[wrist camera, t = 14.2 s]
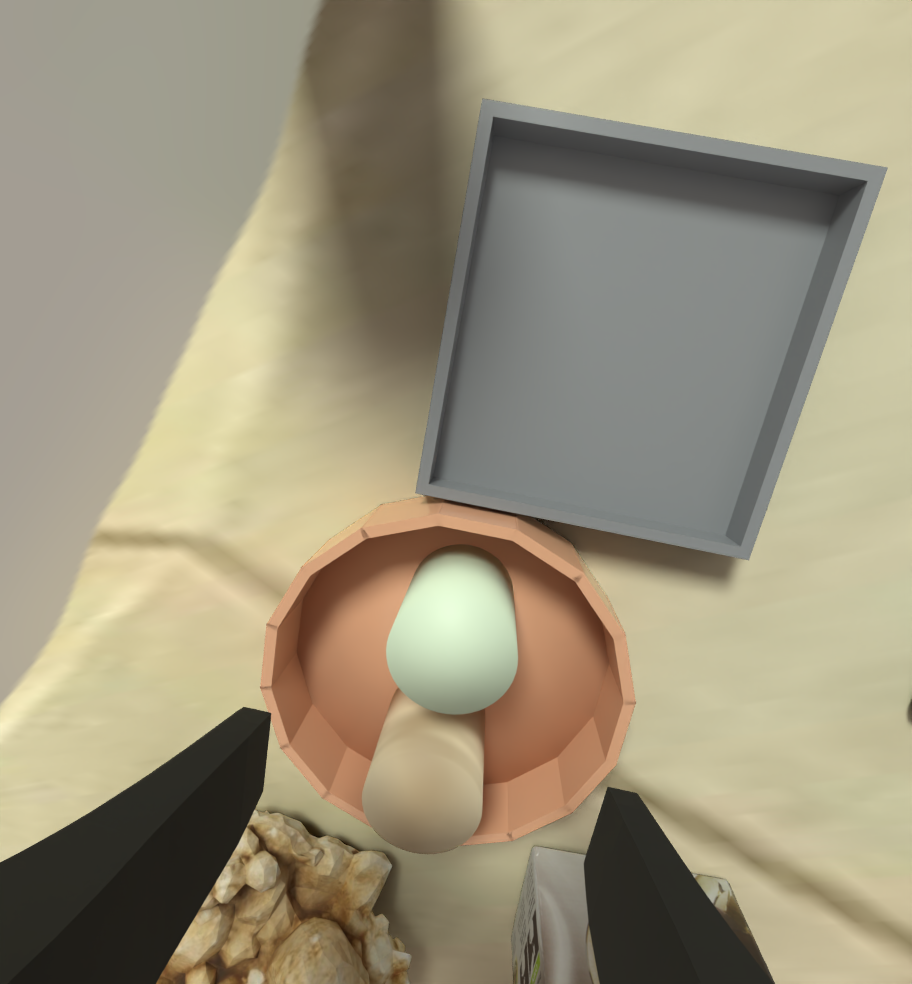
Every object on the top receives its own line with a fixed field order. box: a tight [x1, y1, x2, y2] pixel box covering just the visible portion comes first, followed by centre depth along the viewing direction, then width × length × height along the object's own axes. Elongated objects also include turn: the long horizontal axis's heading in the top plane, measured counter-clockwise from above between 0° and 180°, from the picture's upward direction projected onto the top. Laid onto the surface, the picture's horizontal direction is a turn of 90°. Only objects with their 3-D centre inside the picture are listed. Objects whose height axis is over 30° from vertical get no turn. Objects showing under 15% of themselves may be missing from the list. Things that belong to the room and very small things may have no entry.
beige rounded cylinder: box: [362, 687, 485, 854], centre depth 19 cm, size 4×4×4 cm
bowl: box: [260, 496, 636, 846], centre depth 19 cm, size 13×13×3 cm
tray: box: [416, 99, 887, 560], centre depth 17 cm, size 12×12×2 cm
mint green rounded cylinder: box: [386, 544, 518, 715], centre depth 17 cm, size 4×4×4 cm
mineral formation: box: [156, 809, 412, 984], centre depth 21 cm, size 8×13×15 cm
